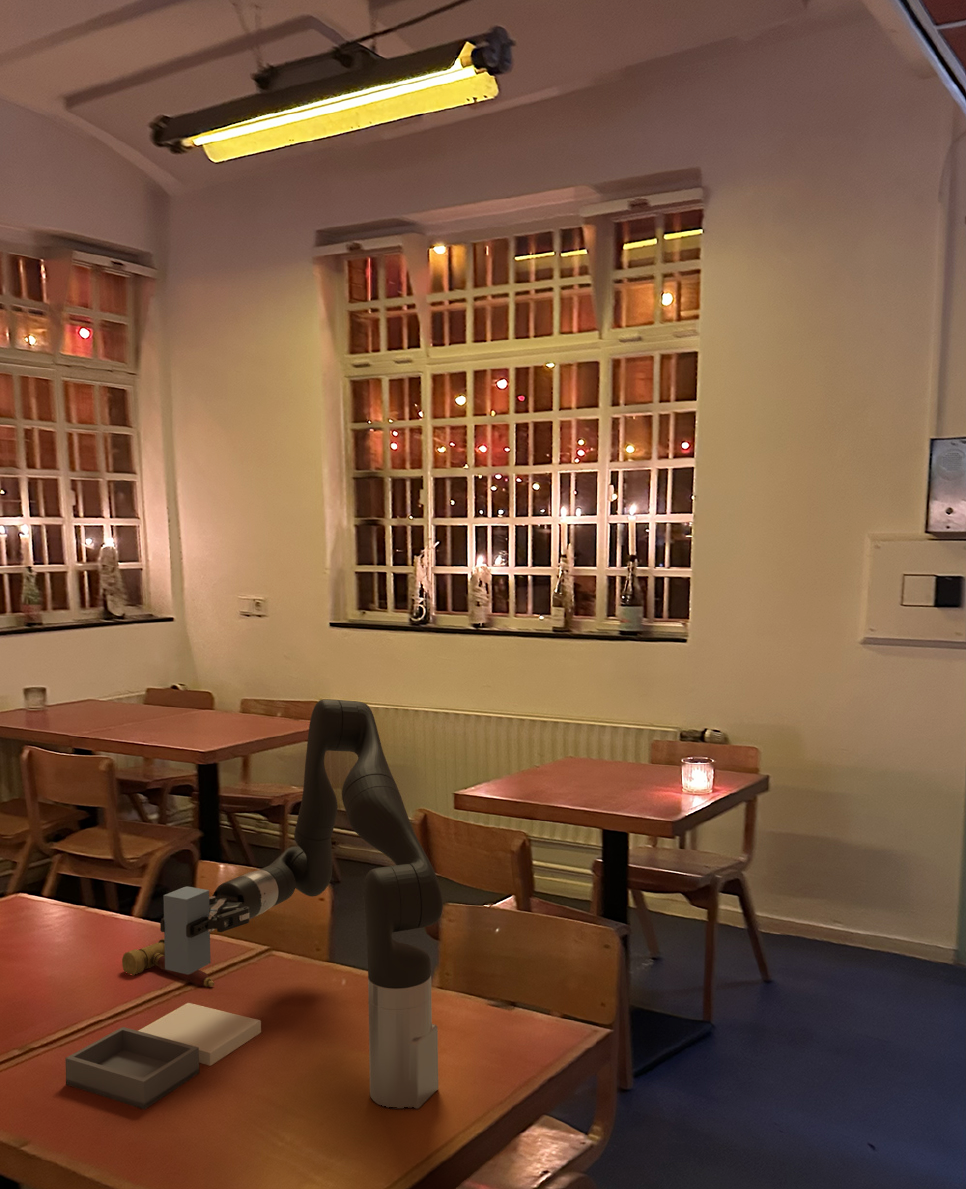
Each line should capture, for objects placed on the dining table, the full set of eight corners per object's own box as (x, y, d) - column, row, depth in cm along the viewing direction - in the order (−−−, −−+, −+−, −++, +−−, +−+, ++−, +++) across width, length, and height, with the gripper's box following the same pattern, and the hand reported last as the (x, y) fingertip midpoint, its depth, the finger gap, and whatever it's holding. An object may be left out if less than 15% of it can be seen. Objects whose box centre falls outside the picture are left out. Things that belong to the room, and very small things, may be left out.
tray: (199, 1073, 146) (198, 1047, 146) (144, 1109, 136) (143, 1081, 136) (123, 1051, 153) (122, 1026, 153) (65, 1084, 143) (65, 1057, 143)
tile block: (210, 963, 156) (209, 890, 156) (188, 974, 151) (186, 899, 151) (187, 958, 158) (186, 886, 158) (165, 969, 154) (163, 895, 153)
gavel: (234, 963, 181) (191, 981, 172) (233, 986, 181) (190, 1006, 173) (165, 933, 193) (121, 949, 184) (164, 955, 193) (121, 972, 185)
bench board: (260, 1032, 159) (260, 1020, 159) (210, 1065, 148) (210, 1052, 148) (188, 1014, 166) (188, 1002, 166) (135, 1044, 155) (135, 1032, 155)
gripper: (214, 870, 171) (141, 899, 155) (278, 880, 164) (208, 912, 149) (215, 912, 171) (142, 945, 155) (279, 924, 164) (209, 959, 149)
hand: (175, 928), depth 152 cm, fingers closed on tile block, 5 cm apart
